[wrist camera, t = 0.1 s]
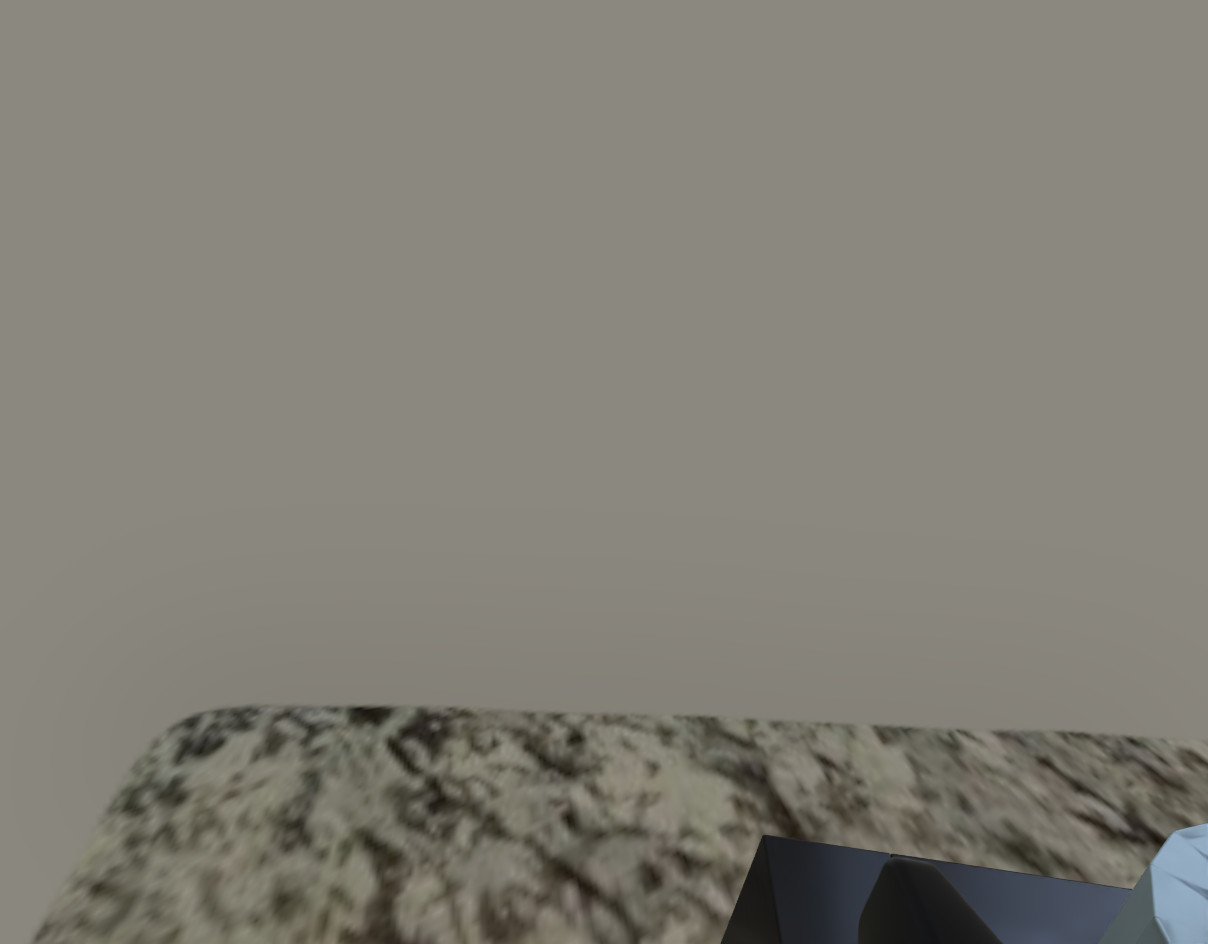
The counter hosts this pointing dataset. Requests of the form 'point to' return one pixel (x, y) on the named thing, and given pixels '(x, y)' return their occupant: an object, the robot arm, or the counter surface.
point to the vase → (1168, 896)
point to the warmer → (847, 875)
